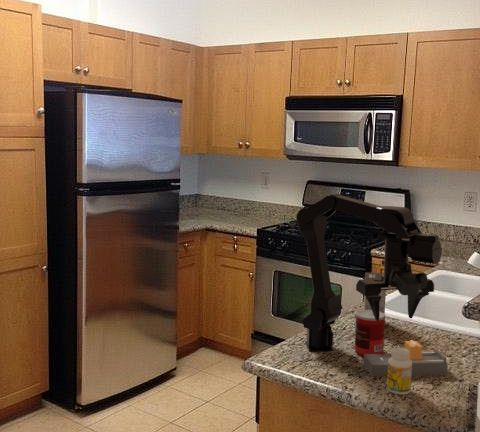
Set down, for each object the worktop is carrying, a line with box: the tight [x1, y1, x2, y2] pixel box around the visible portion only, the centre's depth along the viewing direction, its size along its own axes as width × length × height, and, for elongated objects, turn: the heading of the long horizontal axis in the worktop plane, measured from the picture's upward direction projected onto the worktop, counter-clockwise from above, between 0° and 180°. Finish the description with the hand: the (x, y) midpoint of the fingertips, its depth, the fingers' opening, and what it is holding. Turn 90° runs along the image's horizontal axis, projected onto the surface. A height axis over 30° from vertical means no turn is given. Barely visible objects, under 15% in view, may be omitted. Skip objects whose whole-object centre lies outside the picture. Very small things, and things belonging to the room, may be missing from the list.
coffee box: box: [363, 272, 387, 315], centre depth 175 cm, size 9×6×16 cm
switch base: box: [363, 348, 448, 378], centre depth 143 cm, size 19×7×4 cm, turn 94°
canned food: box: [354, 309, 386, 358], centre depth 154 cm, size 8×8×11 cm
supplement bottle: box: [386, 347, 412, 396], centre depth 131 cm, size 5×5×10 cm
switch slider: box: [404, 339, 423, 360], centre depth 142 cm, size 3×4×4 cm
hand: (393, 319), depth 142 cm, fingers open, 9 cm apart
